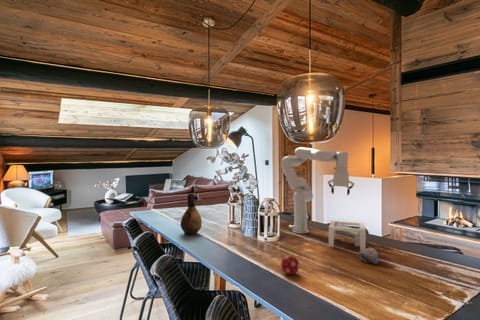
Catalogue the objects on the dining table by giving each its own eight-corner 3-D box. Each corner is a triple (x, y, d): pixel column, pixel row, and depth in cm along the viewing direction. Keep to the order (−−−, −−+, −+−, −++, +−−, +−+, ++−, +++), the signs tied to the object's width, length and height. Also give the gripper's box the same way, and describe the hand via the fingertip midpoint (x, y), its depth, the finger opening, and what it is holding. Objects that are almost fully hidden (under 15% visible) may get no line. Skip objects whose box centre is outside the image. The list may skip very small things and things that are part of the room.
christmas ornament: (286, 268, 141) (286, 249, 141) (302, 273, 135) (302, 252, 135) (277, 274, 134) (278, 253, 134) (293, 279, 128) (293, 257, 128)
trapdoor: (334, 227, 179) (335, 225, 179) (335, 223, 192) (336, 221, 192) (357, 236, 174) (358, 235, 174) (357, 231, 187) (357, 229, 187)
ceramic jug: (205, 234, 203) (205, 193, 203) (185, 238, 194) (185, 195, 194) (195, 229, 217) (195, 191, 217) (176, 232, 208) (176, 192, 208)
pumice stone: (361, 268, 148) (381, 265, 145) (357, 253, 149) (377, 250, 145) (360, 261, 158) (379, 258, 154) (356, 247, 158) (374, 244, 155)
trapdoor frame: (328, 246, 177) (328, 227, 177) (330, 237, 196) (331, 220, 196) (365, 250, 169) (365, 230, 169) (364, 241, 188) (364, 223, 188)
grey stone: (354, 238, 179) (363, 239, 177) (354, 236, 183) (363, 237, 181) (354, 246, 179) (363, 247, 177) (354, 243, 183) (362, 244, 181)
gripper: (327, 169, 190) (326, 194, 191) (355, 170, 184) (353, 196, 184) (328, 168, 197) (327, 192, 198) (355, 170, 191) (353, 194, 191)
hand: (340, 194), depth 191 cm, fingers open, 9 cm apart
